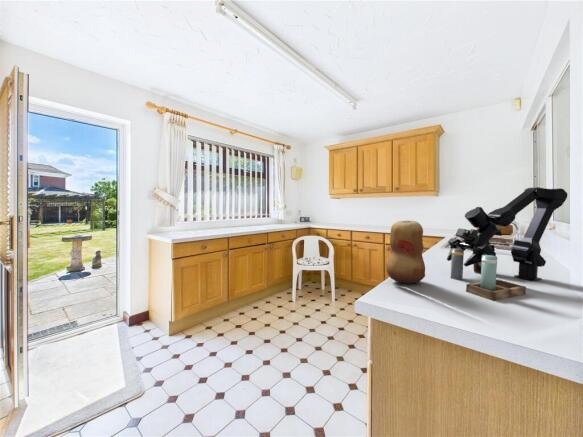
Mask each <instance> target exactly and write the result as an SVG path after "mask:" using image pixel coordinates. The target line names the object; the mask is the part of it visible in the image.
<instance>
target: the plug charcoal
mask: <svg viewBox="0 0 583 437" xmlns="http://www.w3.org/2000/svg"><path fill="white" fill-rule="evenodd" d="M464 252H465V251H464V250H463V249H458V248H452V259H451V260H450V261H451V263H450V265H451V267H450V279H453V280H457V281H462V280H463V274H464V254H465V253H464Z"/></svg>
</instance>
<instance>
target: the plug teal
mask: <svg viewBox="0 0 583 437" xmlns="http://www.w3.org/2000/svg"><path fill="white" fill-rule="evenodd" d="M497 266H498V256H497V255H496V256H492V255H482V265H481V274H480V282H481V285H480V288H483V289H486V290H489V291H496V280H497V270H498V267H497Z"/></svg>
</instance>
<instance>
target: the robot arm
mask: <svg viewBox="0 0 583 437" xmlns="http://www.w3.org/2000/svg"><path fill="white" fill-rule="evenodd" d="M567 199H568V192H566V190H565V189H564V188H543V187H539V186H537V187H527V188H526V189H524V191H523V192H522V193H520V194H519V195H518V196H517V197H515V198H514V199H512V200H511V201H509V203H507V204H506V205H504V206H502V207H499V208H495V209H494V210H492V211H490V212H488V214H487V213H486V212H485V210H484V208H483V207H481V206H476V207H475V208H473V209H471V210H469V211H467V212H465V214H464V218H465V219H466V220H467V221H468V222H469V224H470V225H471V226H472V227H473V228H474V229H473V228H471V229H466V228H458V229H457V230H456V233H455V235H454V236H456V237H458V238H460V239H458V238H449V240H448V241H447V243H448V245H449V246H450V249H449V252H448V255H447V257H446V261H448V262H449V261H451V259H452V248H458V249H463V250H464V252H465V250H468V251H472V254H471V255H470V256H469V257H468V258H467V259H466V260H465V262H463V267H469V266H471V265H472V266H473V265H474V264H475V263H479V262H482V255H492V256H497V253H496V251H493V249H492V248H491V247H490V246H489V244H490V245H491V242H490V240H491V239H492V238H493V237H494V236H500V237H501V236H503V233H502V228H501V229H500V228H499V227H509V226H510V225H511V224H512V223H513V222H514V221H515V219H516V216H517V214H518V213H520V212H521V211H523V210H524V209H525V208H526V207H528V206H529V205H530V204H531V203H533V202H534V201H535V204H536V206H537V207H536V210H535V212H534V214H533V216H532V218H531V220H530V223H529V225H528V227H527V229H526V232H525V233H524V236H523V238H521V239H520V240H516V239H515V240H514V241H513V244H512V246H511V248H510V249H511V250H510V254H511V257H512V260H513V262H514V263H515V262H516V263H518V274H517V275H513V277H514V278H519V279H523V280H527V281H531V282H534V281H535V282H536V281H540V280H542V277H538V274H539V273H538V272H539V271H538V270H539V268H542V267H545V265H546V263H547V260H545V258H544V257H543V256H542V255H541V253H542V248H541V245H540V241H541V239H542V237H543V234H544V233H545V231H546V228H547V226H548V224H549V222H550V220H551V219H552V218H551V217H552V216H553V213H554V212H555V211H556V210H557V209H559V208H561V207H562V206H563V205H564V203H565V201H566V200H567ZM475 228H476V229H475ZM485 244H486V245H485Z"/></svg>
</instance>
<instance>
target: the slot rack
mask: <svg viewBox="0 0 583 437" xmlns="http://www.w3.org/2000/svg"><path fill="white" fill-rule="evenodd" d="M480 285H481V281H478V282H471V283H468V284H467V283H466V286H465V287H466V289H465V292H466V293H468V294H471V295H474V296H478V297H480V298H482V299H483V298H484V299H486V300H490V301H492V302H496V301H501V300H506V299H510V298H515V297H520V296H526V295H527V292H526V291H527V290H526V289H527V286H524V285H522V284H521V285H520V284H517V283H513V282H510V281H507V280H502V279H497V278H496V291H489V290H486V289H483V288H480Z"/></svg>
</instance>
